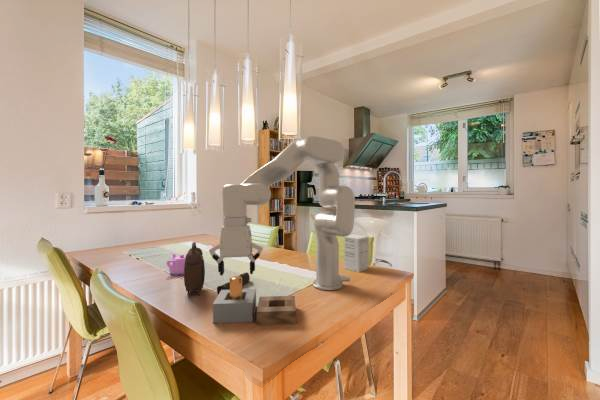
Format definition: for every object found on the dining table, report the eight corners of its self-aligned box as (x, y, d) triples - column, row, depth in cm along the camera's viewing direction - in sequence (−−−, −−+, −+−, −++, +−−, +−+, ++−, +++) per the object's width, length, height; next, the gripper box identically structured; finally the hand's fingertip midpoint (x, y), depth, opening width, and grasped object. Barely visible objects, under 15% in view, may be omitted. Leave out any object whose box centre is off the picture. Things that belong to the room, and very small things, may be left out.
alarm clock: (204, 297, 106) (203, 245, 106) (183, 299, 104) (182, 246, 103) (205, 285, 120) (205, 238, 120) (187, 286, 118) (186, 239, 117)
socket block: (256, 305, 99) (255, 289, 99) (252, 321, 87) (252, 302, 87) (221, 306, 98) (221, 289, 98) (213, 323, 86) (212, 303, 86)
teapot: (172, 269, 145) (172, 252, 144) (200, 268, 146) (199, 251, 146) (163, 276, 133) (163, 257, 133) (193, 275, 134) (193, 257, 134)
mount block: (294, 307, 98) (294, 295, 98) (296, 323, 86) (296, 310, 86) (259, 308, 97) (259, 296, 97) (256, 324, 85) (256, 311, 85)
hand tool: (224, 297, 108) (224, 285, 107) (216, 295, 110) (216, 283, 109) (254, 282, 124) (254, 272, 124) (247, 281, 126) (247, 271, 126)
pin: (243, 311, 95) (242, 276, 94) (241, 316, 91) (241, 279, 90) (231, 311, 94) (230, 276, 94) (229, 316, 90) (228, 280, 90)
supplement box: (354, 265, 151) (354, 234, 151) (369, 268, 145) (369, 236, 144) (343, 268, 145) (343, 236, 144) (358, 272, 138) (358, 238, 137)
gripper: (262, 219, 96) (264, 269, 97) (211, 221, 95) (213, 271, 96) (261, 222, 88) (262, 276, 89) (205, 224, 87) (207, 278, 88)
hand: (237, 273), depth 92 cm, fingers open, 9 cm apart
